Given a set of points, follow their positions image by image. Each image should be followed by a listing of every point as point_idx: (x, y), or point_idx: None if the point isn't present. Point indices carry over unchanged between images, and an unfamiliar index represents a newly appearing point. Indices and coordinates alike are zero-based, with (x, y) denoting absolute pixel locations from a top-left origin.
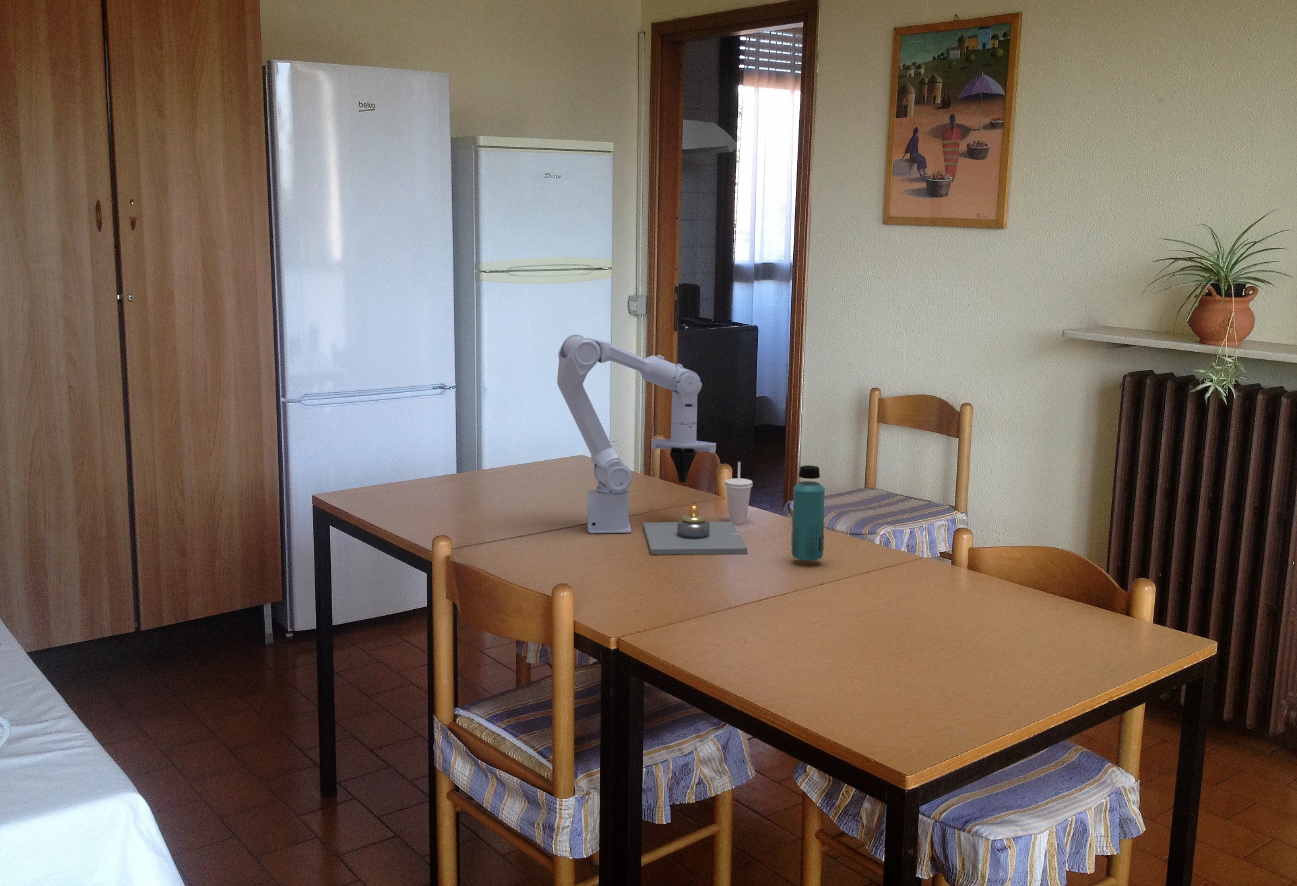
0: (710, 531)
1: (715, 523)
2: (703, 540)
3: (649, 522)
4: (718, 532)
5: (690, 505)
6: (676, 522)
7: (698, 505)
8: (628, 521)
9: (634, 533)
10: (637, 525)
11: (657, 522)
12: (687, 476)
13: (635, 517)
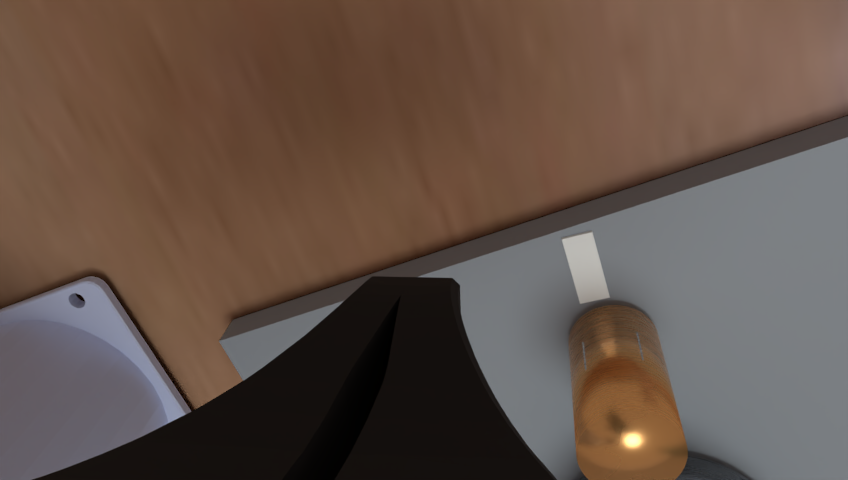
0: (775, 437)
1: (795, 211)
2: None
3: (258, 328)
4: (843, 449)
5: (600, 459)
6: (452, 275)
7: (681, 441)
8: (142, 423)
9: None
10: (166, 272)
11: (313, 315)
12: (458, 305)
13: (28, 49)
